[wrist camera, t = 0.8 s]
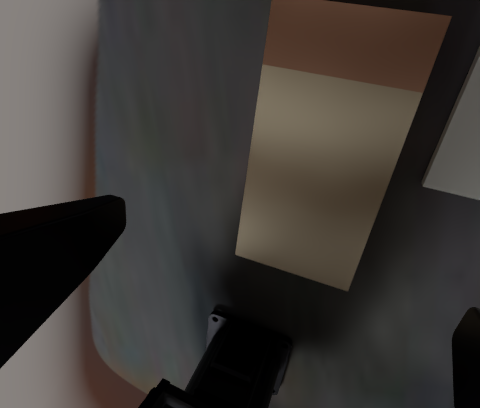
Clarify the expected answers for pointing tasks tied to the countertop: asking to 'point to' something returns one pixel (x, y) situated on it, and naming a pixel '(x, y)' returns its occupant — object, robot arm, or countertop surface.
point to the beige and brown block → (330, 130)
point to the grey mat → (459, 143)
